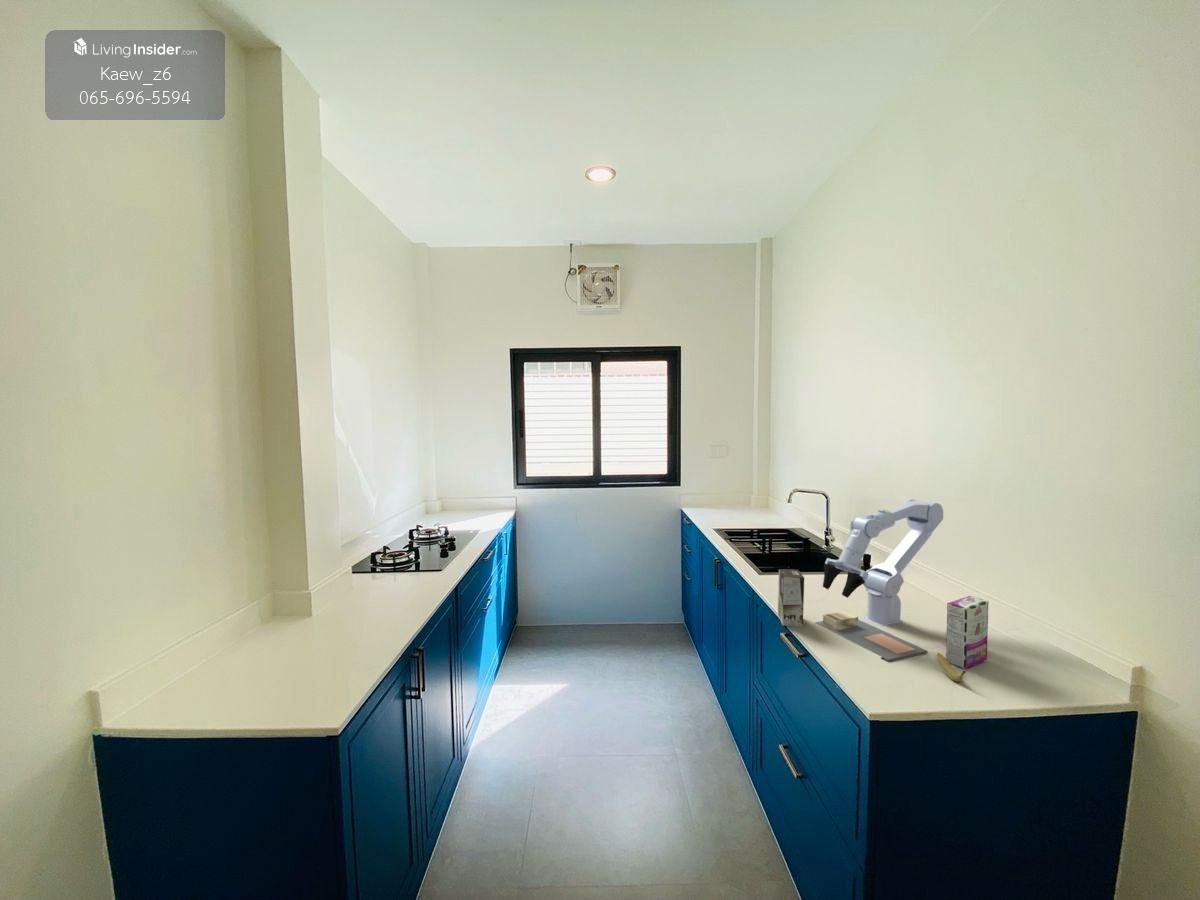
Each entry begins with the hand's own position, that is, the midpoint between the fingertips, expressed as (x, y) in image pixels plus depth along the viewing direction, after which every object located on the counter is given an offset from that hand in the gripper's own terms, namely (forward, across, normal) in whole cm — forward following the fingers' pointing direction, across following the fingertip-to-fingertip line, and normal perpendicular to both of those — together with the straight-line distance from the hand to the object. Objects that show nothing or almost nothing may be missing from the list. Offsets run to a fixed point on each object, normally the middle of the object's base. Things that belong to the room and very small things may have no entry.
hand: (834, 592), depth 151 cm
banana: (+8, +32, +10) cm, 35 cm away
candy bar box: (+1, +28, +20) cm, 35 cm away
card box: (+8, 0, +8) cm, 11 cm away
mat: (+8, +8, +9) cm, 15 cm away
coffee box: (+15, -8, -2) cm, 17 cm away
